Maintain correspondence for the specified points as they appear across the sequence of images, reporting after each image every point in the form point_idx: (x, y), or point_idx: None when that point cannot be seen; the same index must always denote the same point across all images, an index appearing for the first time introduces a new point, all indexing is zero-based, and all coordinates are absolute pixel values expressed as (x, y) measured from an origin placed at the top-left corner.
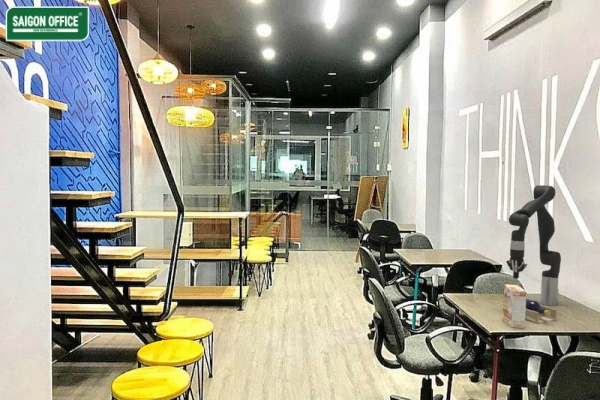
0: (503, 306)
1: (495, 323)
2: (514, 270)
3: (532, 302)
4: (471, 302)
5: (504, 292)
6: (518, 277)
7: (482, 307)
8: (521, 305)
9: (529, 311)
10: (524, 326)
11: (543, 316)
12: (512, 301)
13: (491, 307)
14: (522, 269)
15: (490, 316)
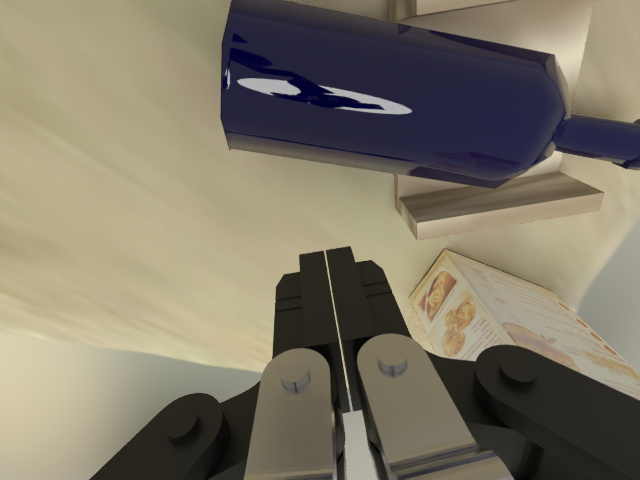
0: (435, 350)
1: None
2: (344, 458)
3: (535, 162)
4: (28, 253)
5: None
6: (374, 265)
7: (165, 259)
8: None
9: (532, 218)
10: (557, 297)
11: (506, 20)
12: None
13: (165, 204)
14: (608, 428)
15: None
